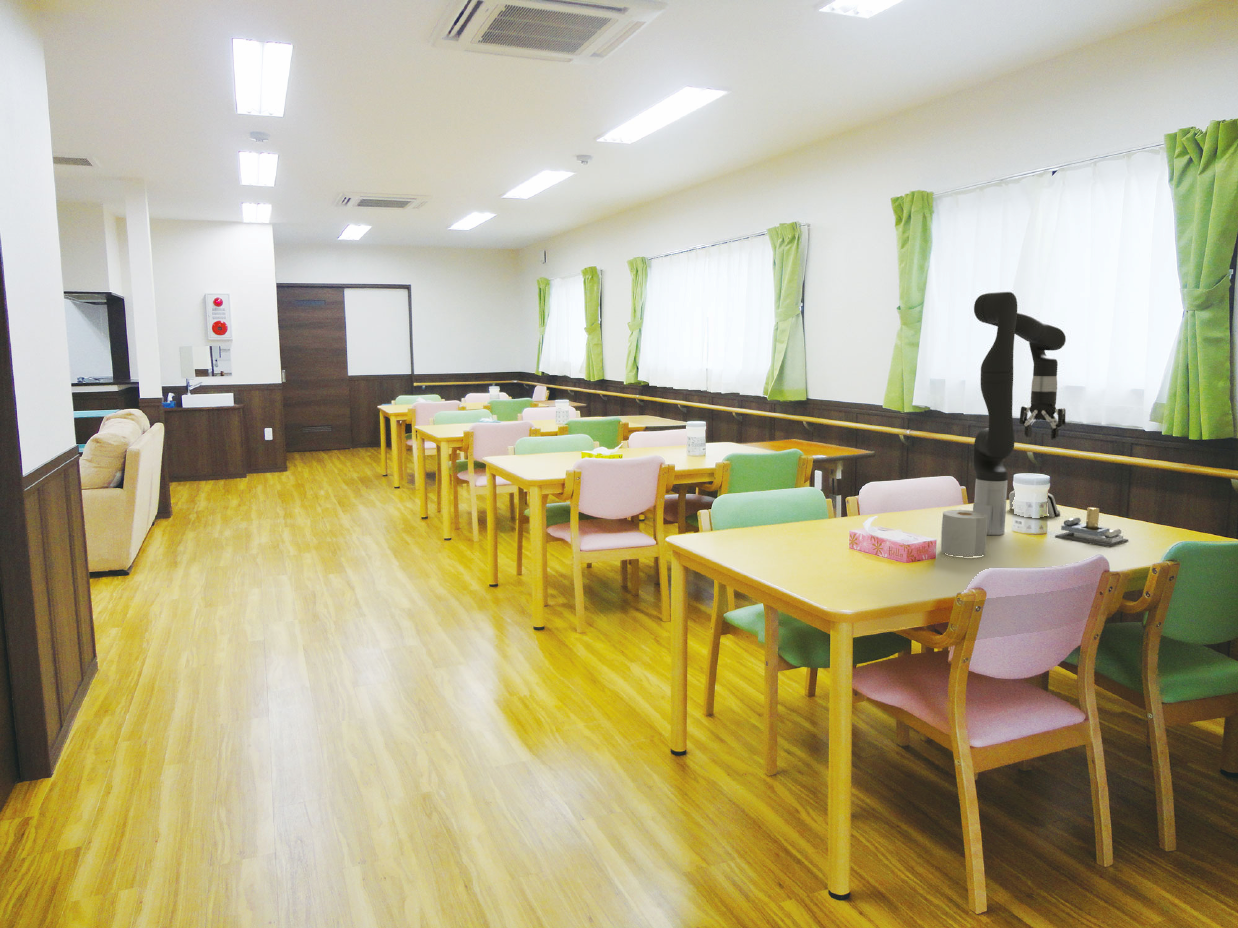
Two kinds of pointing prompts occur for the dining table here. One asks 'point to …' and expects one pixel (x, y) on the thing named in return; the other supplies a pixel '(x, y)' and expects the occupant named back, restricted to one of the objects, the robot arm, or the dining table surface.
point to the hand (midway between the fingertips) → (1041, 438)
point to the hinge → (1051, 504)
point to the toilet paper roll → (963, 533)
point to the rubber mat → (1070, 536)
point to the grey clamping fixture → (1092, 532)
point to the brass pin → (1092, 518)
